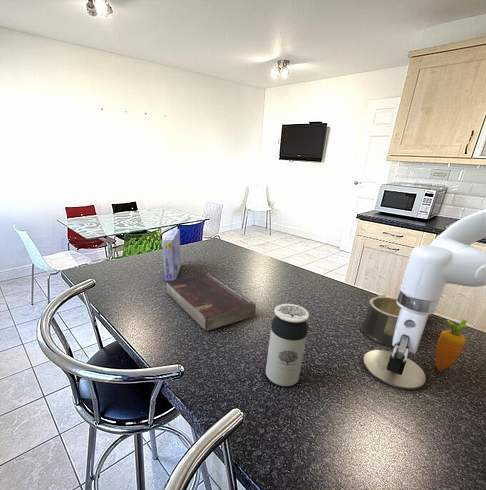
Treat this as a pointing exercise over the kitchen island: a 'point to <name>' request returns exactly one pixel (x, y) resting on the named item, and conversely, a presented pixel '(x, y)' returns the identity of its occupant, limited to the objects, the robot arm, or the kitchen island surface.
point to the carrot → (450, 345)
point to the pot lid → (378, 368)
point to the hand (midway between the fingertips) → (396, 360)
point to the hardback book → (210, 300)
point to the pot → (381, 319)
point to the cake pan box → (171, 254)
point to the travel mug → (287, 344)
